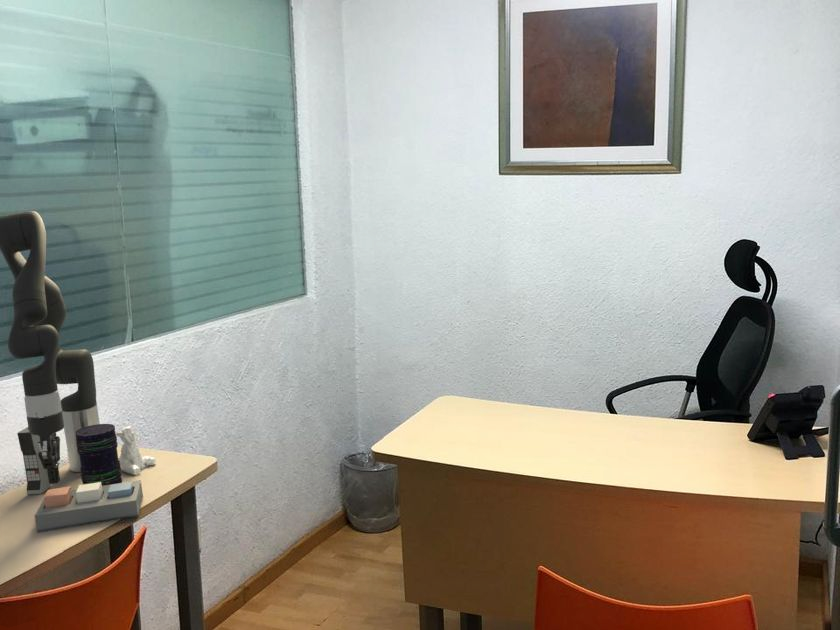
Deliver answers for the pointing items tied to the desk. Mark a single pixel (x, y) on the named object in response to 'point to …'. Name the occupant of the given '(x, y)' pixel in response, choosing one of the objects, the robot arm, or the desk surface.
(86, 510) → the key console
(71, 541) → the desk surface
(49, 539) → the desk surface
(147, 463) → the sitting furry creature
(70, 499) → the orange block
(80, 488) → the white key
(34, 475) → the vintage mobile phone
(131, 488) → the blue-grey block
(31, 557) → the desk surface
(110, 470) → the storage jar
